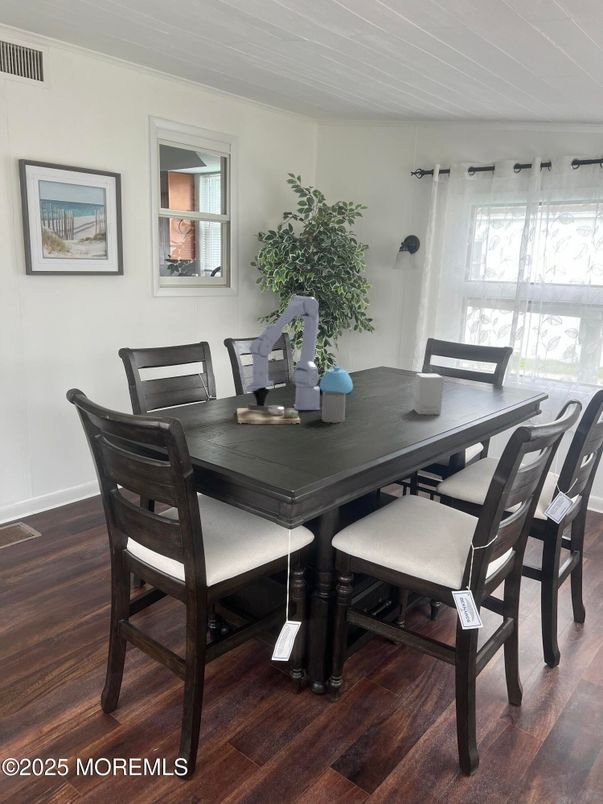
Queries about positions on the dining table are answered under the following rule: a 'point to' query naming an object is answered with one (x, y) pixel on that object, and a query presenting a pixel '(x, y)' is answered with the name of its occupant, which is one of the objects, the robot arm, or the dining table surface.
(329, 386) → the sugar bowl
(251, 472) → the dining table surface
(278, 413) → the grey spoon
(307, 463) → the dining table surface
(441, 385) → the supplement box
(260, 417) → the oak board
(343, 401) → the cup
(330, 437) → the dining table surface
